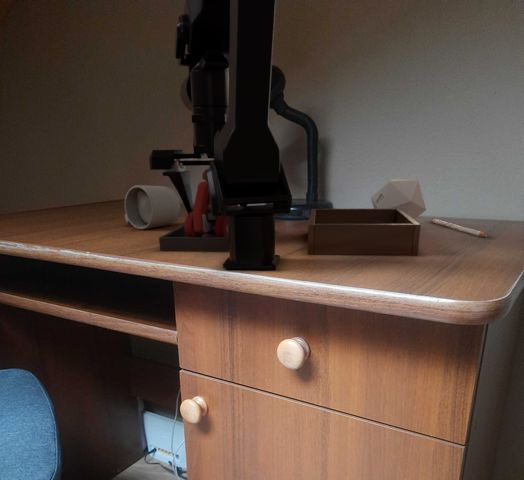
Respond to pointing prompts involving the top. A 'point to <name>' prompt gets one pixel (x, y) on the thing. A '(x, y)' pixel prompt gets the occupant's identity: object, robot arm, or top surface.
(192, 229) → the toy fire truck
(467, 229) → the pencil
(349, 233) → the toy crate
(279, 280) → the top surface
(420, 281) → the top surface
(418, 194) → the die
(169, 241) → the desk tray
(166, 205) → the ceramic mug
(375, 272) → the top surface
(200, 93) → the robot arm
